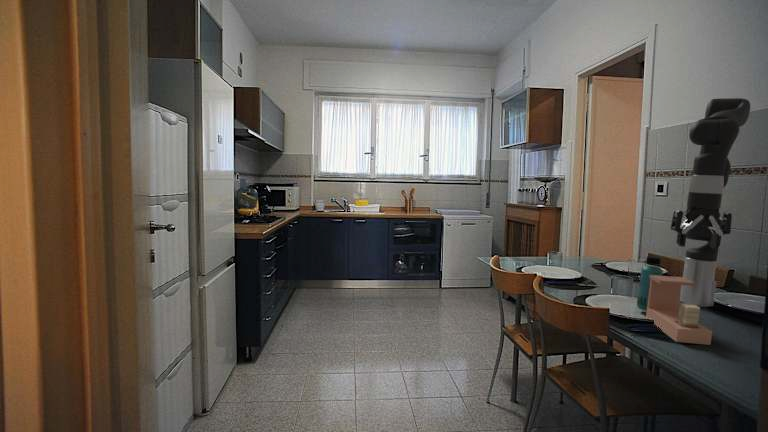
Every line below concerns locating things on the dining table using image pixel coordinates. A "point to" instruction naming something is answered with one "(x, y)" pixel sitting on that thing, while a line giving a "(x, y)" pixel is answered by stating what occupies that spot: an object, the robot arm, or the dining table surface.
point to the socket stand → (672, 310)
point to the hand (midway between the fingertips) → (697, 247)
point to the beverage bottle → (647, 281)
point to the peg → (688, 315)
